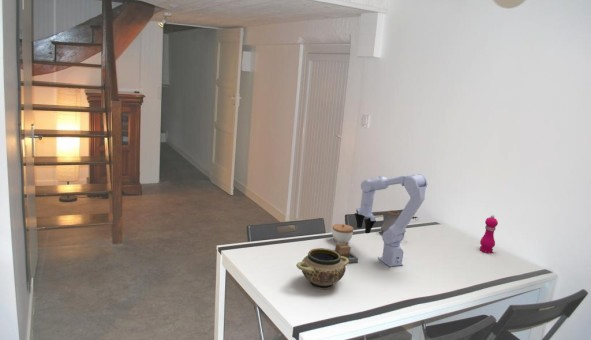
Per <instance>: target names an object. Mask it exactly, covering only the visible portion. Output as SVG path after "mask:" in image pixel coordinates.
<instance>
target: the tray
mask: <svg viewBox="0 0 591 340" xmlns="http://www.w3.org/2000/svg"><path fill="white" fill-rule="evenodd" d="M332 250H333V251H335V249H332ZM348 260H349V263H348V264H347V265H349V264H350V265H351V264H358V263H359V257H358V256H357V255H355V254H354V253H353V252H351V251H350V256H349V258H348ZM342 261H344V262H345V260H342Z"/></svg>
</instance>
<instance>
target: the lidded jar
mask: <svg viewBox="0 0 591 340" xmlns="http://www.w3.org/2000/svg"><path fill="white" fill-rule="evenodd" d="M353 232H354V227H353V226H351V225H348V224H345V223H336V224H333V225H332V233H331V234H332V237H333V240H335V242H336V243H346V244H348V242H350V241H351V240H352V237H353V234H354V233H353Z"/></svg>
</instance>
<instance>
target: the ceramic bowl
mask: <svg viewBox="0 0 591 340" xmlns="http://www.w3.org/2000/svg"><path fill="white" fill-rule="evenodd" d="M333 250H334V249H330V248H325V247H321V248H320V247H318V248H311V249H310V250H309V251H308V253H307V255H306V256H305V257H304V258H303V259H302V260H301V261H299V262H297V263H296V268H297V269H298V270H300V271H301V272H302V274H303V276H304V277H305V278H306V279H307V280H308V281H309V284H310V285H311V286H312V287H314V288H316V289H320V290H328V289H331V288H332V287H333V286H334V284H336V283H339V281H341V280H342V278H343V277H344V275H345V274H346V266H348V265H349V264H348V263H349V260H348V258H346V257H343V256H340V254H339V253H337V252H335V251H333ZM342 260H345V262H344V261H342Z"/></svg>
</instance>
